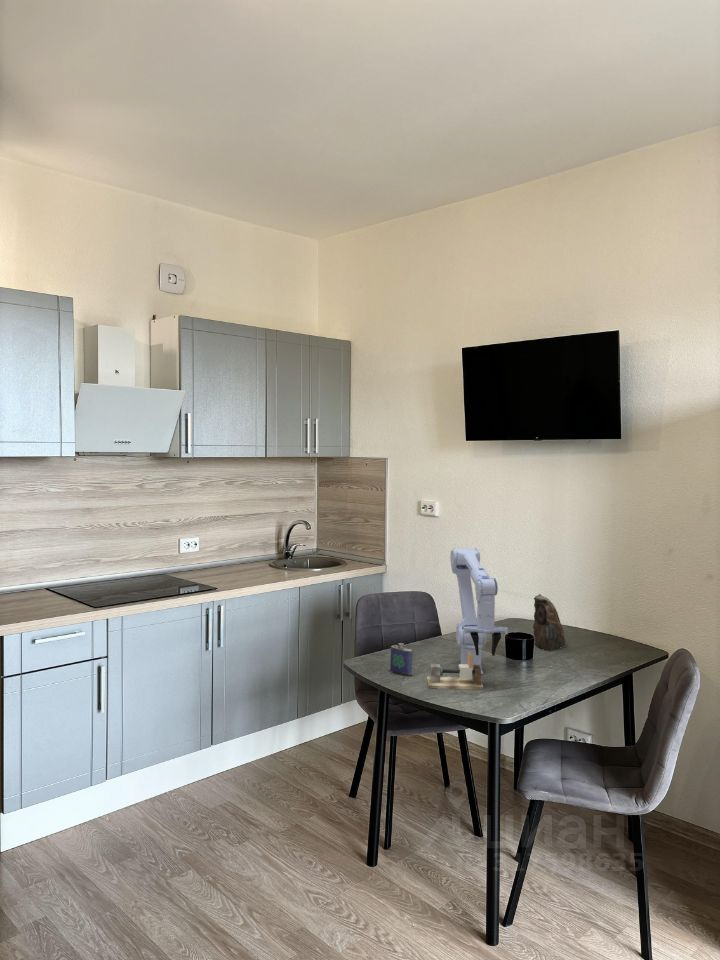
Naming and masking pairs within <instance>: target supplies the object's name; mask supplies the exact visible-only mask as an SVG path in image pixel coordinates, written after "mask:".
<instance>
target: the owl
mask: <svg viewBox="0 0 720 960" xmlns="http://www.w3.org/2000/svg"><path fill="white" fill-rule="evenodd" d="M533 600H534V604H533V606H534V612H533V613H534V614H533V619H534V621H533V622H534V623H533V626H532V627H533V636H534V641H535V642H534V644H535V645H534V646H535V647H537V649H539V650H542V649H544V650H543V651H546V650H547V651H546V652H551V651H550V650H552V651H554V650H553V649H556V650H558V649H557V648H559V649H561V648H560V647H563V646H566V637H565V634H564V628H563V626H562V623H561V619H560V617H559V612H558V610H557V608H556V607H555V605H554V603H553V602H551V600H550V599H549V598H547V597H546V596H544V595H542V594H541V593H539V594H538V595H535V597H534V598H533ZM563 648H564V647H563Z"/></svg>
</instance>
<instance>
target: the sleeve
mask: <svg viewBox="0 0 720 960" xmlns="http://www.w3.org/2000/svg"><path fill="white" fill-rule="evenodd" d="M458 665H459V667H458V670H460V673H458V677H460V679H472V678H473V674H472V654H471V653H468V664H461V663H459V664H458Z"/></svg>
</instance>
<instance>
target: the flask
mask: <svg viewBox="0 0 720 960" xmlns="http://www.w3.org/2000/svg"><path fill="white" fill-rule="evenodd" d="M397 644H398V645H397ZM397 644H395V645H391V646H390V663H389V664H390V666H389V667H390V669H389V671H390V672H391V671H392V672H391V673H393V672H394V674H397V675H401V674H402V676H404V675H407V676H406V677H410V675H411V676H413V650H412V649H411V648H404V645H405V644H404V643H403V642H400V643H397Z"/></svg>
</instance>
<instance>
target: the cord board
mask: <svg viewBox="0 0 720 960" xmlns="http://www.w3.org/2000/svg"><path fill="white" fill-rule="evenodd" d="M440 665H441V664H440V663H439V664H437V663H434V664H433V663H430V676H427V677H426V683H427V688H428V689H432V688H437V689H439V690H477V691H478V690H479V691H481V690H484V685H483V683H482V674H481V668H482V667H481V668H480V665H473V670H472V679H460V677H459V676H458V677H457V676H456V677H454V676H453V677H451V676H450V677H449V676H444V674H459V673H460V670H459V669H455V668H454V669H452V668H451V669H450V668H449V669H447V668H446V669H445V668H443V667H444V666H443V665H441V666H440ZM437 689H436V690H437Z"/></svg>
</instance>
